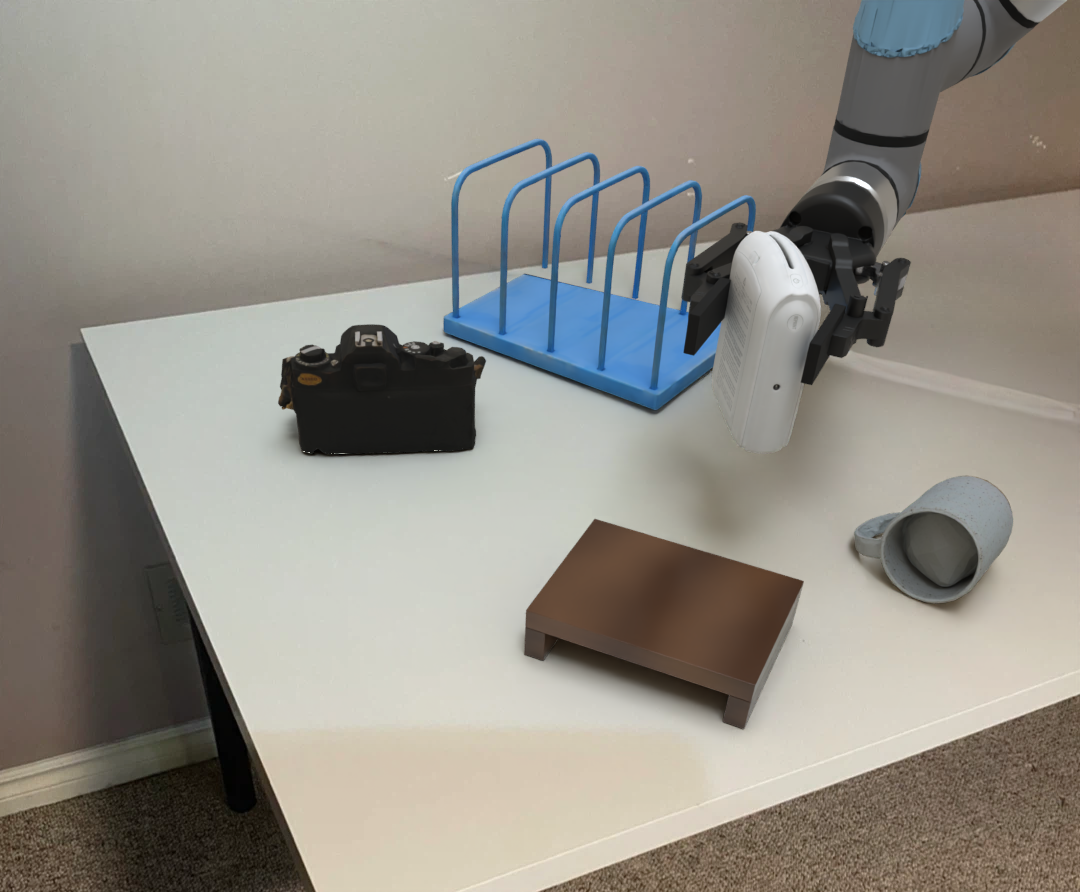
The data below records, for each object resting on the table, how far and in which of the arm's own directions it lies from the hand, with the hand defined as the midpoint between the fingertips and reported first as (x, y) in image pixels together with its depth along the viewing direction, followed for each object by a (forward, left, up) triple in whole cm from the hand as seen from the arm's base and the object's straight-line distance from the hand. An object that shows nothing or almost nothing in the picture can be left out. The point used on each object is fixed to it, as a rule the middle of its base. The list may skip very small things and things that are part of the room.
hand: (750, 349), depth 69 cm
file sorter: (+22, -31, -18) cm, 42 cm away
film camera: (+32, -6, -18) cm, 38 cm away
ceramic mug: (-15, -8, -18) cm, 25 cm away
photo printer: (0, -5, -8) cm, 9 cm away
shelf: (0, +9, -18) cm, 20 cm away
